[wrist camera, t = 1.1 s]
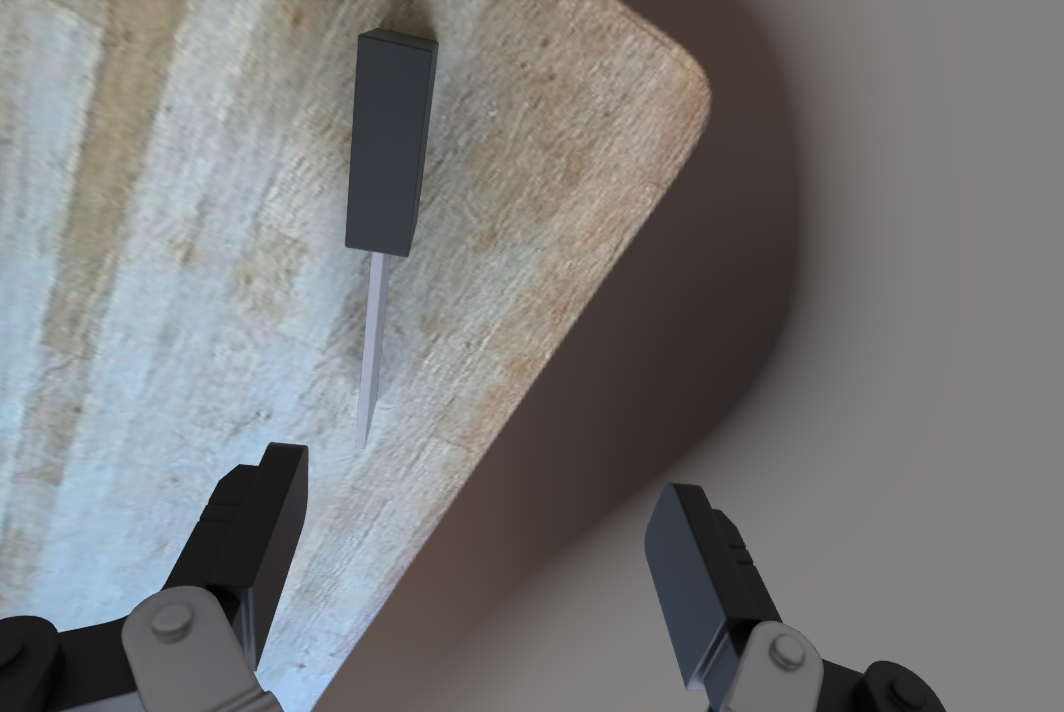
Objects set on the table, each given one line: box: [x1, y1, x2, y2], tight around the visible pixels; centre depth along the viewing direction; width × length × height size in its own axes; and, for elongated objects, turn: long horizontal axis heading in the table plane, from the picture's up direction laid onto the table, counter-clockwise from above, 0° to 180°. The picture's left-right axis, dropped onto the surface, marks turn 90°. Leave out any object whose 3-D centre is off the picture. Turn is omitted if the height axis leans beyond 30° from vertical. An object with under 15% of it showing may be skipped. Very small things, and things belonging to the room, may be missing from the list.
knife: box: [345, 28, 439, 449], centre depth 28 cm, size 19×3×4 cm, turn 168°
